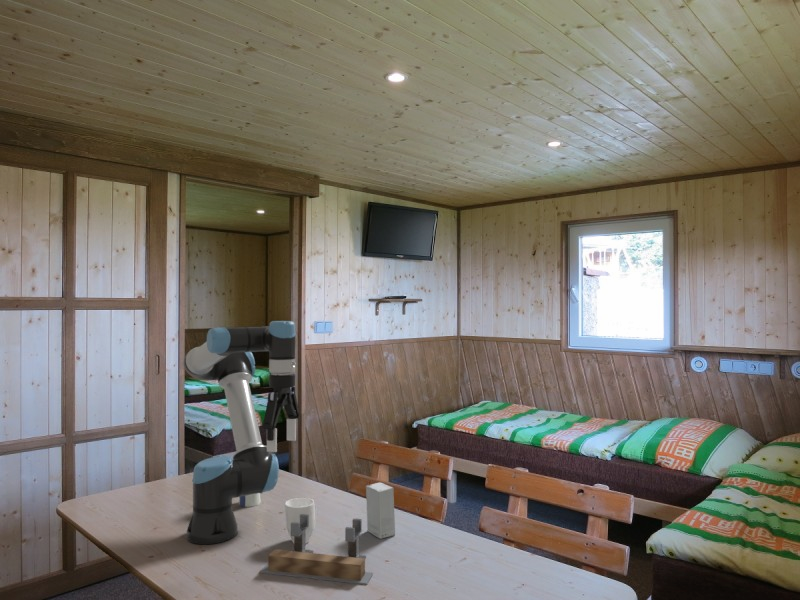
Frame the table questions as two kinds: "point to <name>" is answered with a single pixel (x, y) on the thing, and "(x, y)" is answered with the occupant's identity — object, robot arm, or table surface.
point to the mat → (364, 580)
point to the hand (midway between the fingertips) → (281, 445)
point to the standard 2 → (354, 538)
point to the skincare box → (380, 510)
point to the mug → (296, 509)
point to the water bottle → (250, 500)
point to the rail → (316, 564)
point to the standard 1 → (300, 533)
